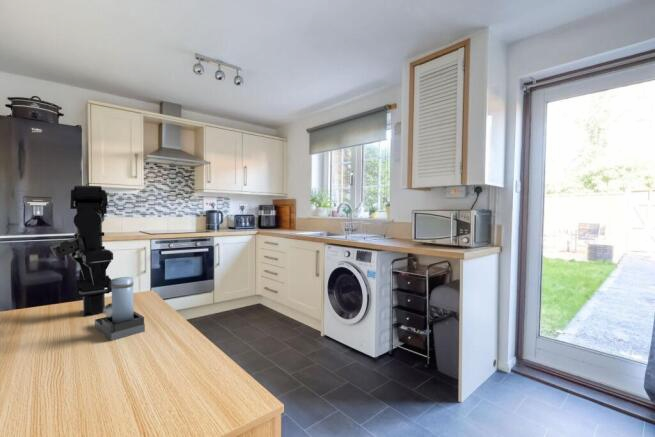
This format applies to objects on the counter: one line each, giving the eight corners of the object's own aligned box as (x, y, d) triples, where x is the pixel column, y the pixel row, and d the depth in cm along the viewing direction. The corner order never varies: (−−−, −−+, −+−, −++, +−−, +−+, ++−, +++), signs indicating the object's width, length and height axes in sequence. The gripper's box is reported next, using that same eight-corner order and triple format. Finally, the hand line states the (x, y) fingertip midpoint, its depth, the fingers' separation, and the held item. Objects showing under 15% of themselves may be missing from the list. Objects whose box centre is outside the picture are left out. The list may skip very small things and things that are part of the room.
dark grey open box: (94, 326, 90) (94, 306, 90) (125, 318, 96) (125, 299, 96) (111, 340, 81) (110, 318, 80) (144, 331, 87) (144, 310, 86)
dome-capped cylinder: (107, 327, 85) (106, 280, 84) (125, 320, 89) (124, 276, 89) (121, 329, 83) (120, 281, 82) (138, 322, 88) (137, 277, 87)
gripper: (45, 229, 88) (47, 283, 89) (60, 232, 76) (62, 294, 77) (93, 227, 97) (94, 276, 97) (113, 230, 85) (114, 285, 86)
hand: (91, 282), depth 89 cm, fingers open, 9 cm apart
